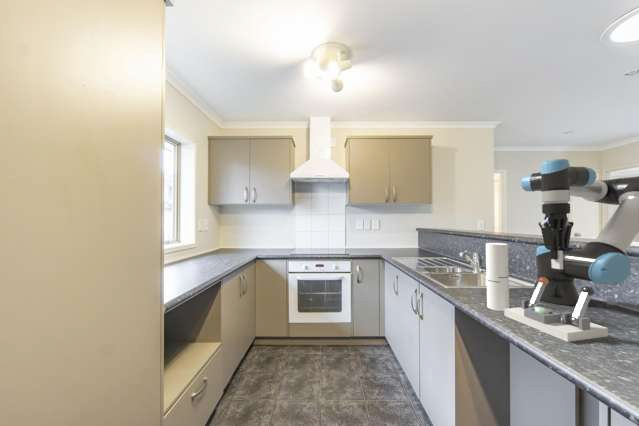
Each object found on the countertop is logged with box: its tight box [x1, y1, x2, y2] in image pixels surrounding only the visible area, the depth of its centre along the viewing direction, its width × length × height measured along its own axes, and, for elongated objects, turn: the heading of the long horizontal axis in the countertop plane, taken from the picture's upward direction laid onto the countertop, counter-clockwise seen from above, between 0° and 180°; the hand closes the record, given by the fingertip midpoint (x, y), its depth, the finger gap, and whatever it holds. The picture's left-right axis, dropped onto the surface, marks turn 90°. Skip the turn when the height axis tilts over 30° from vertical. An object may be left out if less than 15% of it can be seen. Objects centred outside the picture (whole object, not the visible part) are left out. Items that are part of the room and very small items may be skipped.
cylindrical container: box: [485, 242, 510, 312], centre depth 101 cm, size 7×7×25 cm
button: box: [535, 307, 550, 314], centre depth 83 cm, size 4×4×3 cm
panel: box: [503, 298, 609, 343], centre depth 85 cm, size 15×20×6 cm
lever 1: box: [525, 277, 549, 308], centre depth 91 cm, size 3×3×13 cm
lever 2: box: [567, 286, 595, 326], centre depth 78 cm, size 3×3×13 cm
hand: (557, 268), depth 93 cm, fingers closed
